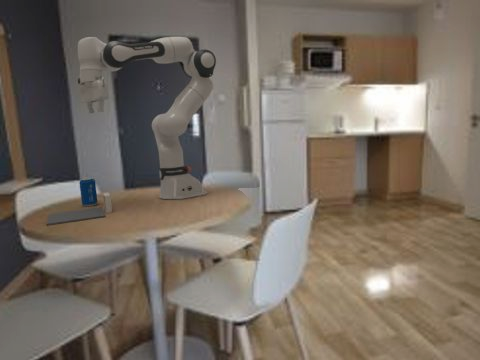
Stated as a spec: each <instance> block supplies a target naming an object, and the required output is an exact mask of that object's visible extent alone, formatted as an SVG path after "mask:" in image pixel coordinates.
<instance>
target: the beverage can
mask: <svg viewBox="0 0 480 360" xmlns="http://www.w3.org/2000/svg"><path fill="white" fill-rule="evenodd" d="M79 180H80V181H79V183H78V184H79V189H80V199H81V205H83V207H93V205H94V206H96V205H97V204H98V194H97V185H96V180H95V179H94V177H85V178H80V179H79Z"/></svg>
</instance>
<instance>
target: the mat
mask: <svg viewBox="0 0 480 360" xmlns="http://www.w3.org/2000/svg"><path fill="white" fill-rule="evenodd" d="M106 216H107V215H106V213H105V210H104V209H103V207H102V206H99V207H92V208H91V207H90V208H86V209H85V208H83V209H76V210H70V211H62V212H54V213H48V215H47V219H46V226H53V225H60V224H67V223H73V222H81V221H88V220H94V219H101V218H107V217H106Z"/></svg>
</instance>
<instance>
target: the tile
mask: <svg viewBox="0 0 480 360" xmlns="http://www.w3.org/2000/svg"><path fill="white" fill-rule="evenodd" d="M102 197H103V205H104V212H106V213H105V214H110V213H113V210H112V202H111V201H112V200H111V194H110V193H109V192H103V194H102Z"/></svg>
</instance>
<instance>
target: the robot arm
mask: <svg viewBox="0 0 480 360" xmlns="http://www.w3.org/2000/svg"><path fill="white" fill-rule="evenodd" d="M77 58H78V59H77V60H78V63H79V76H78V79H77V81H76V83H77V85H78V91H79V96H80V97H79V98H80V100H81V103H82V104H85V105H86V107H87V110H88V114H95V109H94V107H93V103H97V104H98V106H97V112H98V113H103V112H104V107H105V101H106V100H109V96H110V94H109V93H110V92H109V88H108V85H107V81H106V80H105V78H104V71H107V72H117V71H119V70H121V69H122V68H124V67H126V66H127V65H129V64H130V63H131V62H135V61H141V60H147V59H151V60H153V61H154V62H155V63H157V64H162V65H164V64H165V65H166V64H174V63H179V65H180V67H181V70H182V73H183V74H184V75H185V76H186V77H188V78H191V80H190V82H189V83H188V84H187V85H186V86H185V87H184V89H183V90H182V91H181V92H180V93H179V94H178V95H177V96H176V97H175V99H174V102H173V103H172V105H171V106H170V108H169V109H168V110H167V112H165V113H161V114H158V115H157V116H155V117H154V119H152V122H151V129H152V132H153V134H154V139H155V141H156V145H157V150H158V159H159V168H158V169H159V170H158V171H159V174H158V175H159V180H160V190H159V196H158V198H159V199H162V200H163V199H164V200H183V199H188V198H189V199H190V198H193V197H194V198H195V197H200V196H205V195H207V194H208V192H207V190H205V189H203V187H202V183H201V181H200V180H199V179H198V178H196V177H194V176H193V175H192V174H190V173H189V172H191V171H192V167H190V166H186V165H185V163H184V150H183V148H182V146H181V142H180V139H179V136H182V135H183V134H184V133H185V132H186V131H187V129H188V125H189V124H190V122H191V121H192V118H193V117H194V116H195V114H196V112H197V111H198V110H199V109H201V107H202V106H203V104H204V103H205V102H206V101H207V99H208V98H209V96H210V95H211V93H212V91H213V89H214V83H213V80H212V79H211V77H213V75H214V70H215V68H216V64H217V59H216V56H215V54H214V53H213V52H212V51H211V50H209V49H206V48H205V49H199V50H197V51H196V50H195V49H194V47H193V43H192V41H191V40H190V39H189V37H186V36H166V37H161V38H157V39H154V40H151V41H149V42H140V43H125V42H122V41H117V40H114V41H113V40H112V41H110V42H107V43H105V42H103V41H102V40H101V39H99V38H98V37H97V36H85V37H83V38H81V39H79V40H78V42H77Z"/></svg>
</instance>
